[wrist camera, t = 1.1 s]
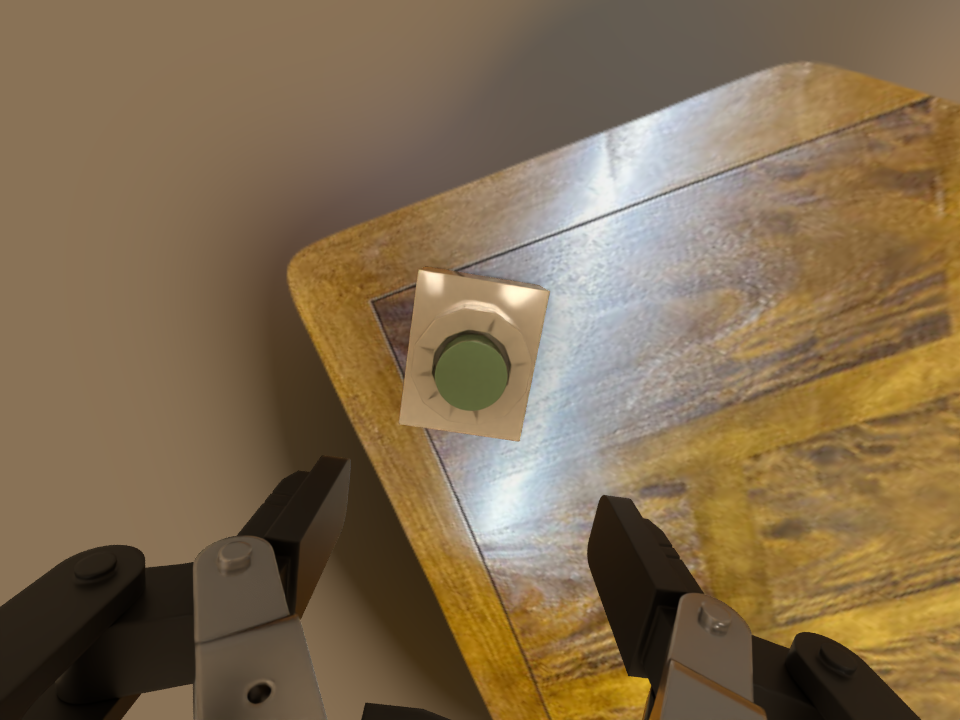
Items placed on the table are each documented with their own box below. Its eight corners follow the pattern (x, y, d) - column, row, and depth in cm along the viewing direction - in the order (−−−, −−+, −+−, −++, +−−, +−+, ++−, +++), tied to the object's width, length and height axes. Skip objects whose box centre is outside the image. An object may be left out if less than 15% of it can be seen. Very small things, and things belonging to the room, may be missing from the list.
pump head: (442, 328, 26) (440, 335, 24) (510, 339, 26) (513, 347, 24) (433, 393, 27) (430, 405, 25) (498, 403, 27) (501, 416, 25)
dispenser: (425, 266, 30) (413, 271, 24) (540, 285, 31) (556, 294, 25) (407, 402, 33) (393, 437, 27) (514, 418, 33) (522, 456, 27)
